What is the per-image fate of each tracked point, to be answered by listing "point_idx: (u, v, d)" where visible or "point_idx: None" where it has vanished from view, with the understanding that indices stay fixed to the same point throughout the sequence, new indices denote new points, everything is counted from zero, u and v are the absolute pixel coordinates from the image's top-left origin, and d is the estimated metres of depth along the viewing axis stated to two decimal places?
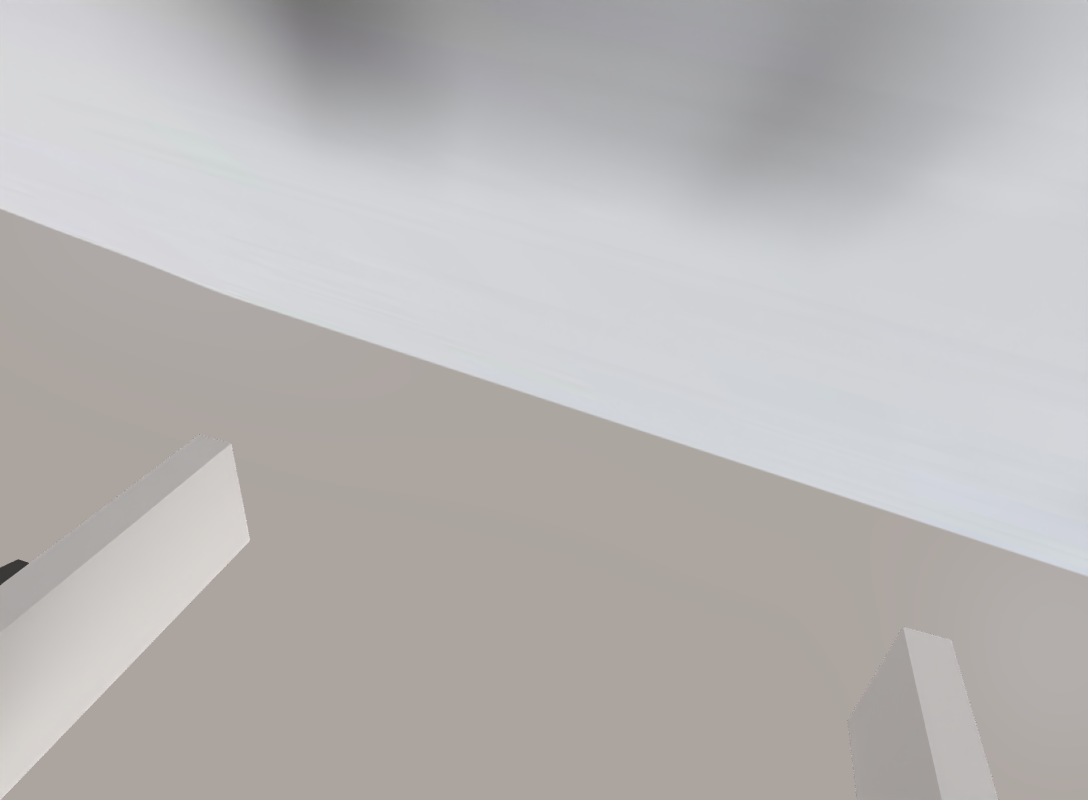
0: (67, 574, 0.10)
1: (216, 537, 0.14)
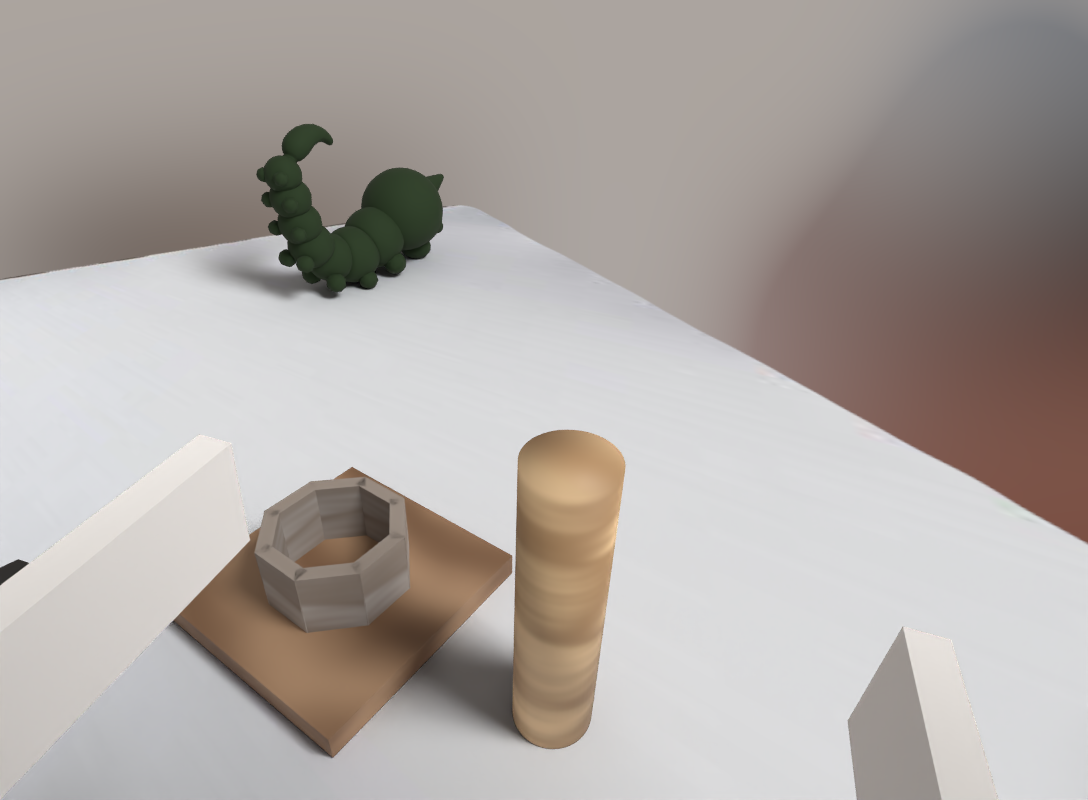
0: (67, 574, 0.10)
1: (216, 537, 0.14)
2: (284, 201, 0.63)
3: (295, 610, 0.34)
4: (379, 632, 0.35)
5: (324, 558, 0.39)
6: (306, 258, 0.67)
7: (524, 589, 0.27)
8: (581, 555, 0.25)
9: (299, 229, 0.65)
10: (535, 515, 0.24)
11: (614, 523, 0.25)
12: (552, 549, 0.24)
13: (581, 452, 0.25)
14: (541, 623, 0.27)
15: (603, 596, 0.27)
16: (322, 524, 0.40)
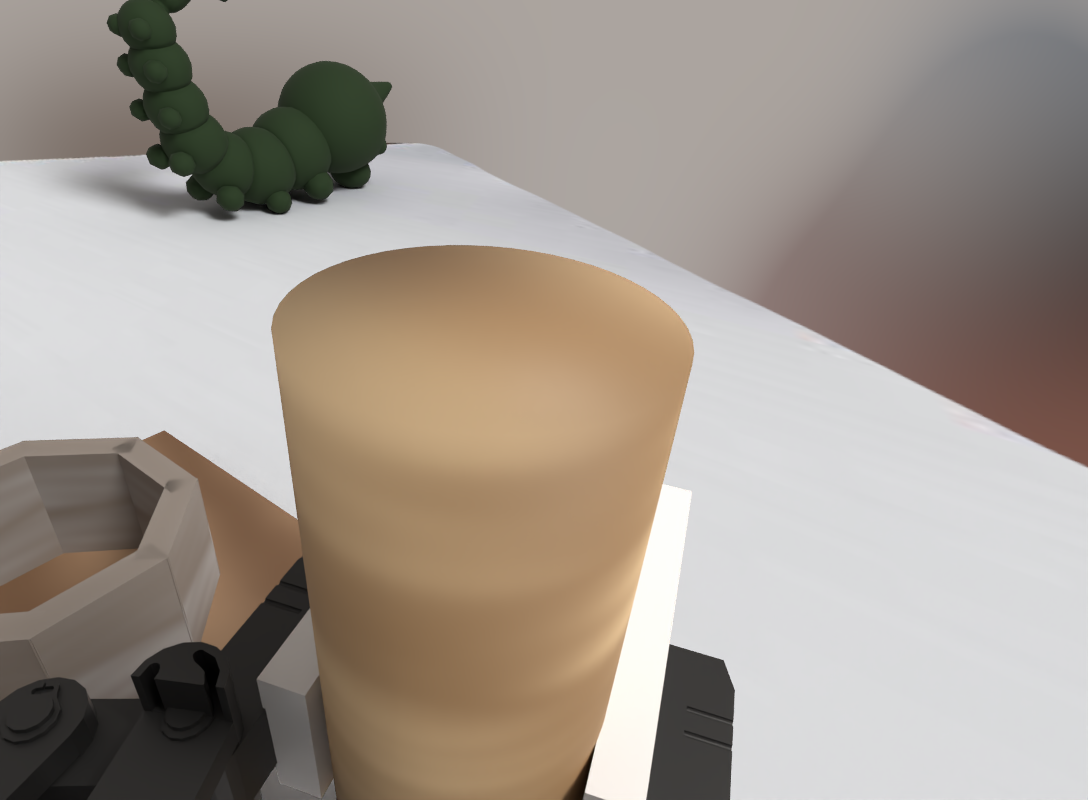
0: None
1: None
2: (145, 64, 0.45)
3: None
4: None
5: (47, 589, 0.20)
6: (183, 154, 0.48)
7: (336, 754, 0.08)
8: (510, 676, 0.06)
9: (170, 109, 0.46)
10: (325, 515, 0.06)
11: (638, 557, 0.07)
12: (398, 652, 0.06)
13: (528, 296, 0.07)
14: None
15: (583, 774, 0.09)
16: (52, 524, 0.21)
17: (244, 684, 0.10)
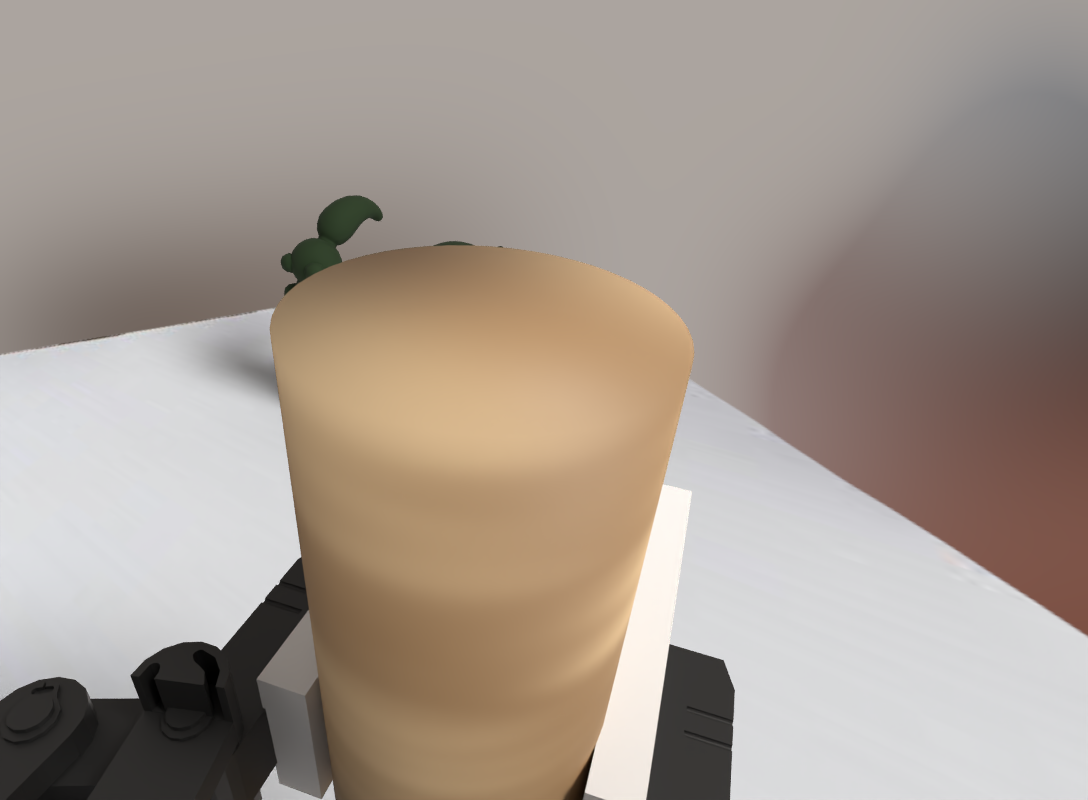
0: None
1: None
2: None
3: None
4: None
5: None
6: None
7: (336, 755, 0.08)
8: (509, 677, 0.06)
9: None
10: (324, 516, 0.06)
11: (638, 558, 0.07)
12: (398, 653, 0.06)
13: (528, 296, 0.07)
14: None
15: (583, 776, 0.09)
16: None
17: (244, 684, 0.10)
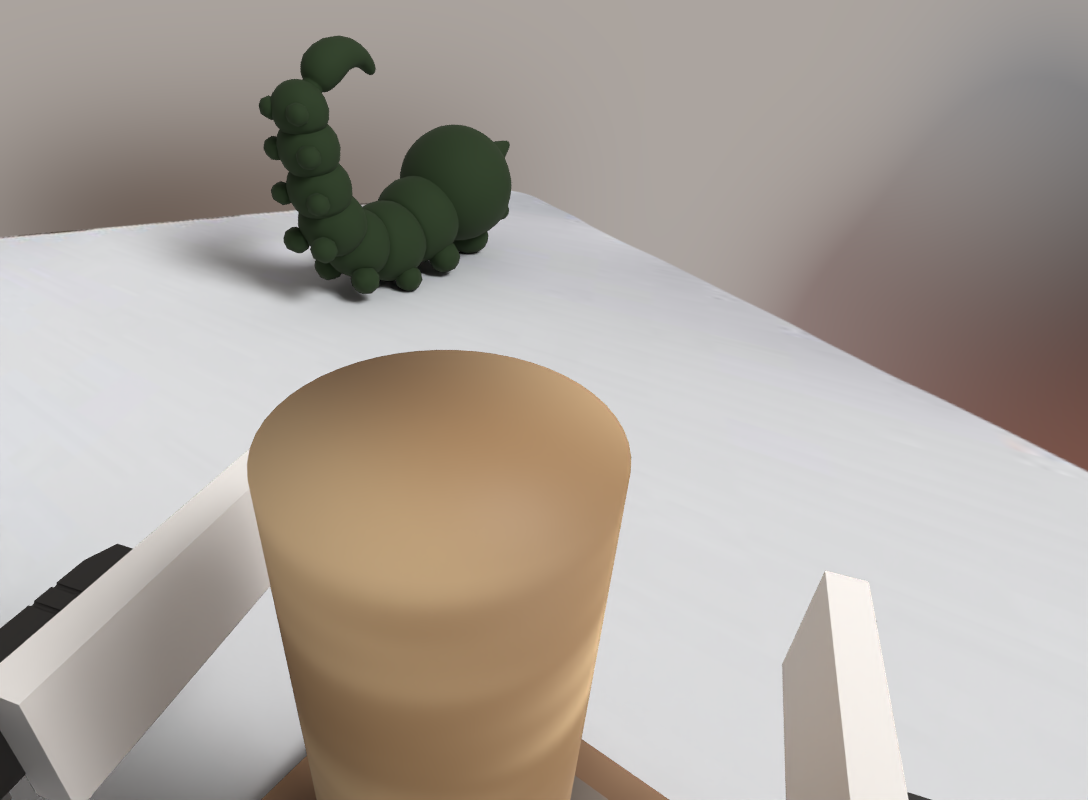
0: (172, 556, 0.11)
1: None
2: (299, 151, 0.41)
3: None
4: None
5: None
6: (327, 240, 0.45)
7: None
8: (471, 764, 0.07)
9: (320, 196, 0.43)
10: (298, 631, 0.07)
11: (589, 649, 0.08)
12: (369, 746, 0.07)
13: (486, 411, 0.08)
14: None
15: None
16: None
17: None
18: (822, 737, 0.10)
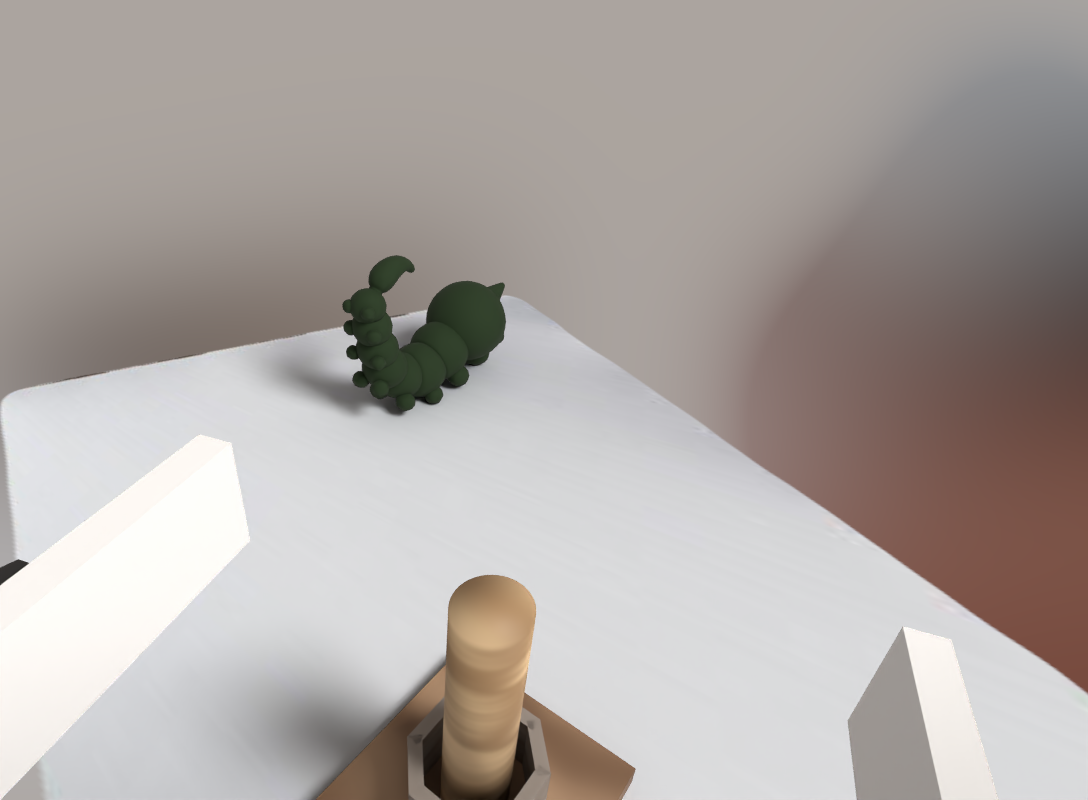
0: (67, 574, 0.10)
1: (216, 537, 0.14)
2: (368, 334, 0.64)
3: None
4: None
5: None
6: (382, 383, 0.68)
7: (451, 705, 0.32)
8: (496, 685, 0.30)
9: (379, 358, 0.65)
10: (459, 653, 0.29)
11: (525, 659, 0.31)
12: (472, 680, 0.30)
13: (501, 598, 0.31)
14: (463, 733, 0.32)
15: (516, 712, 0.32)
16: None
17: None
18: None
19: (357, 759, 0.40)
